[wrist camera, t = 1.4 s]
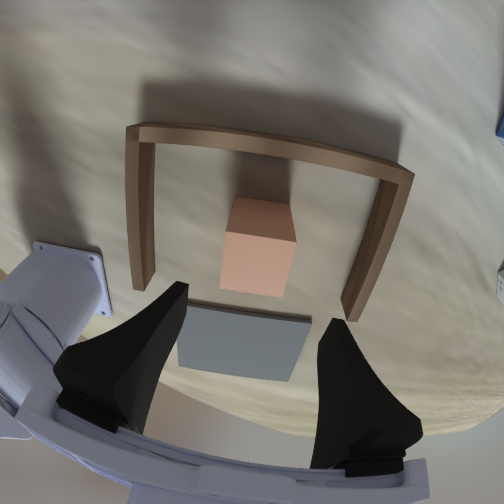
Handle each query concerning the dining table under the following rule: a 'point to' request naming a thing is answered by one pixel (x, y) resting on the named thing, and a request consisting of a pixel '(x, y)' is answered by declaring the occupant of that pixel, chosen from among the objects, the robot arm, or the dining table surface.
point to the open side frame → (391, 174)
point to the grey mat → (240, 342)
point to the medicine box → (501, 131)
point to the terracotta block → (258, 247)
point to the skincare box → (501, 286)
